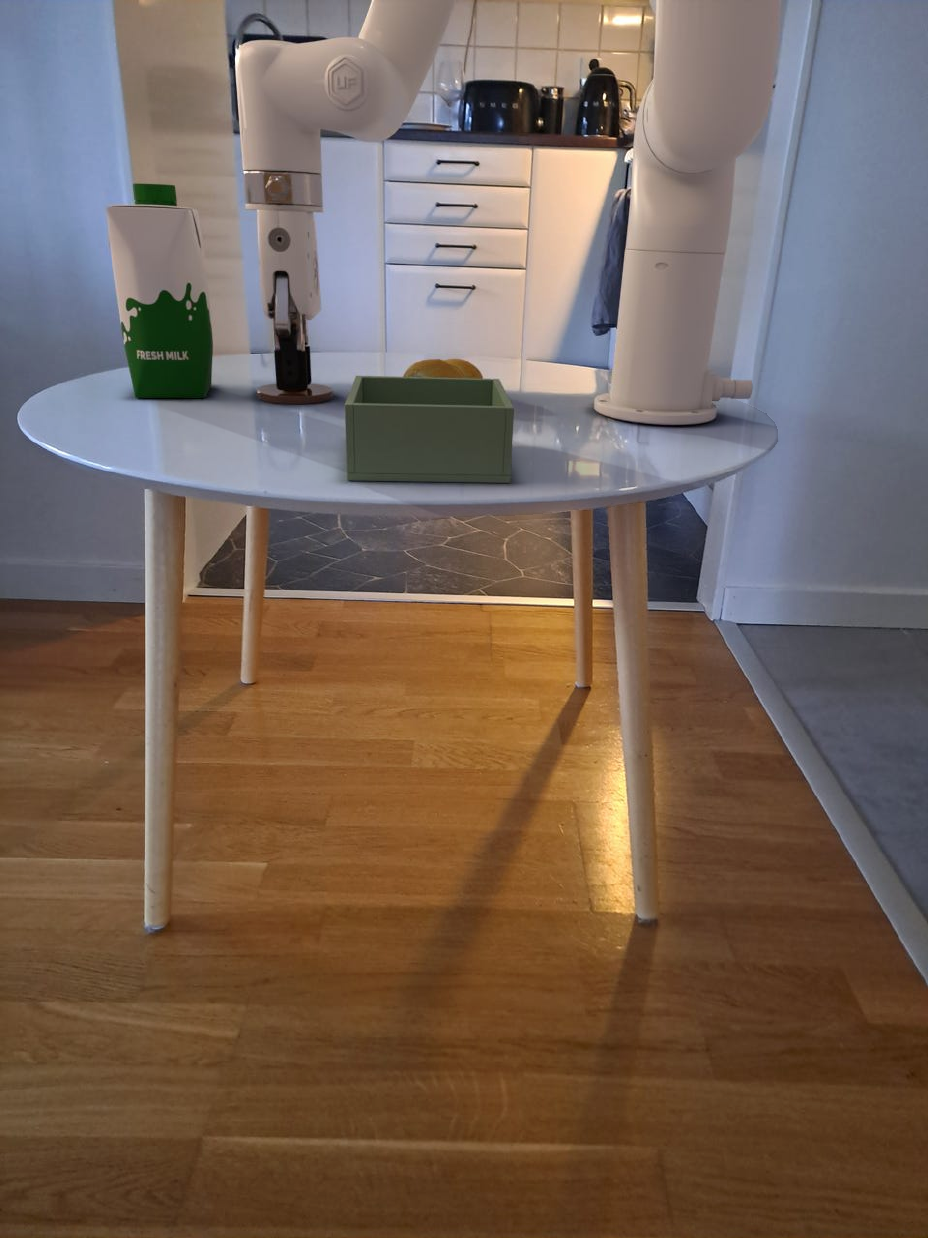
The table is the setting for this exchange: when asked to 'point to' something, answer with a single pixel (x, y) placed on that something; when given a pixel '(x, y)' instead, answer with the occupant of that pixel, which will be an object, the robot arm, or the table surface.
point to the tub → (428, 430)
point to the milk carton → (162, 293)
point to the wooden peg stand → (295, 393)
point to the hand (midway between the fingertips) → (294, 385)
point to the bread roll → (443, 369)
